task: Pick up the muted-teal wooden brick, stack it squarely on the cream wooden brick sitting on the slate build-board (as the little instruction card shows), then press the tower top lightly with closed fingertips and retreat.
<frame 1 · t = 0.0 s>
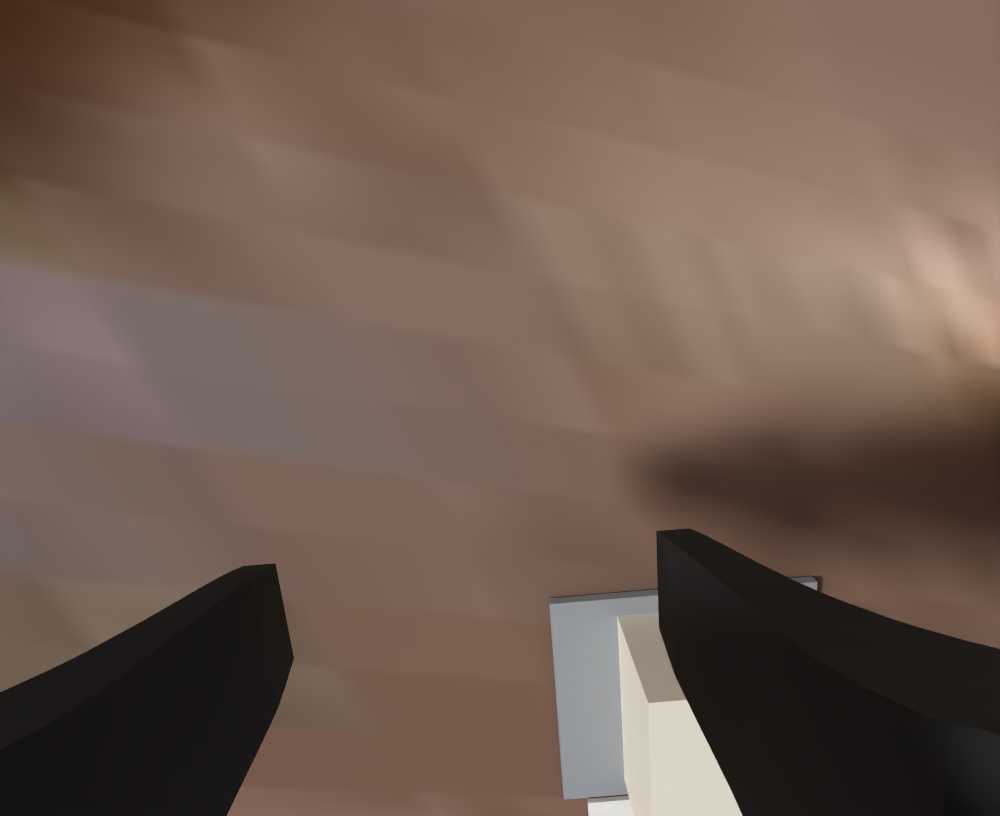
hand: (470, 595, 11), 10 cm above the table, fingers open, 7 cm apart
build board: (681, 688, 23), on the table
brick cream: (684, 695, 23), resting on build board
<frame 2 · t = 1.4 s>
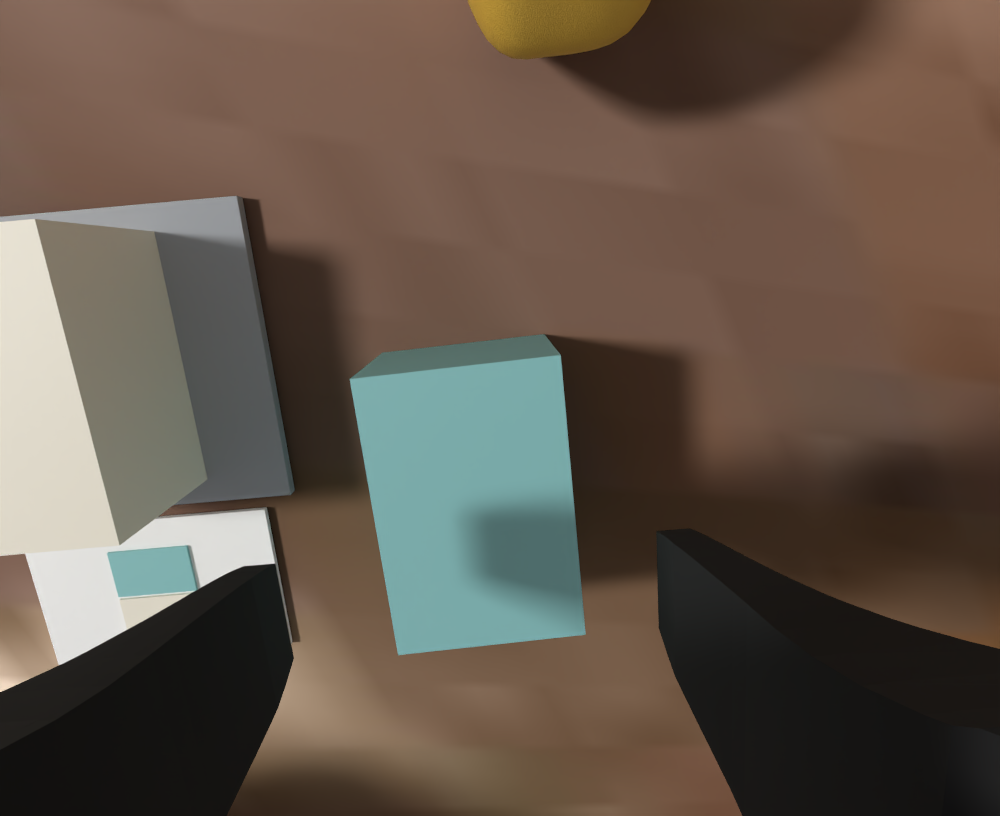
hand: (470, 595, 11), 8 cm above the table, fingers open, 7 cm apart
instruction card: (161, 586, 20), on the table
brick teal: (478, 457, 19), on the table
build board: (107, 366, 18), on the table
brick cream: (99, 368, 18), resting on build board
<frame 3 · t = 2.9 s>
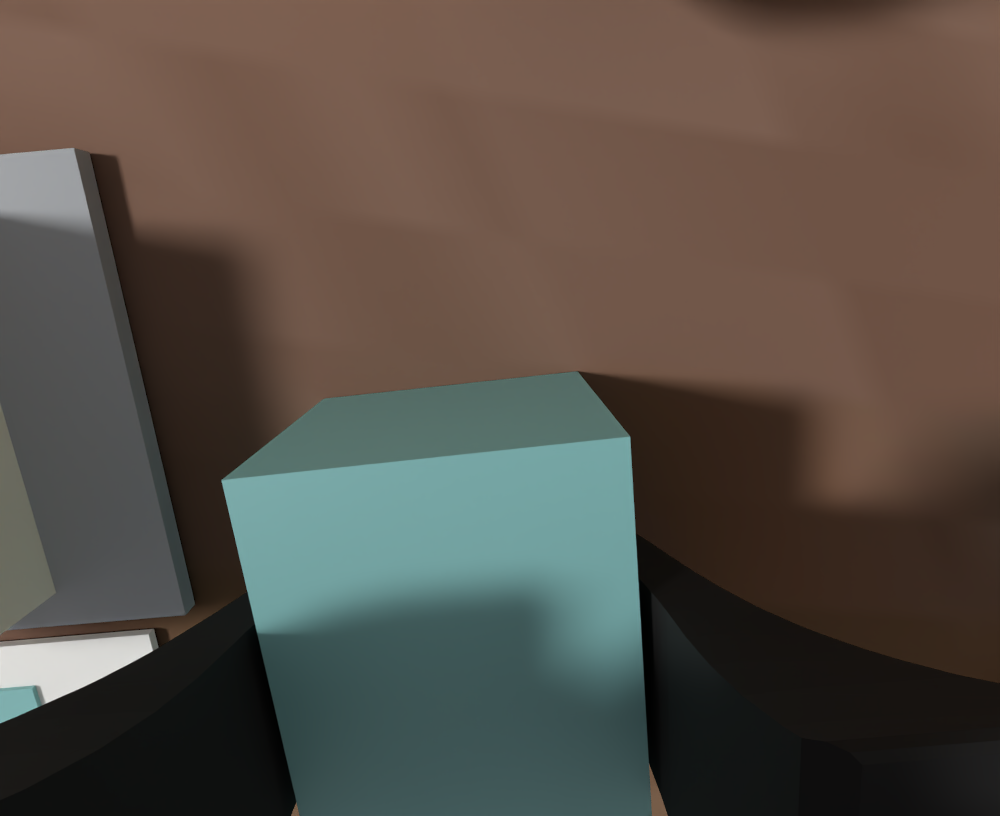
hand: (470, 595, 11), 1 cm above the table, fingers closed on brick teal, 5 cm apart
instruction card: (3, 740, 13), on the table
brick teal: (472, 558, 12), on the table, touching gripper
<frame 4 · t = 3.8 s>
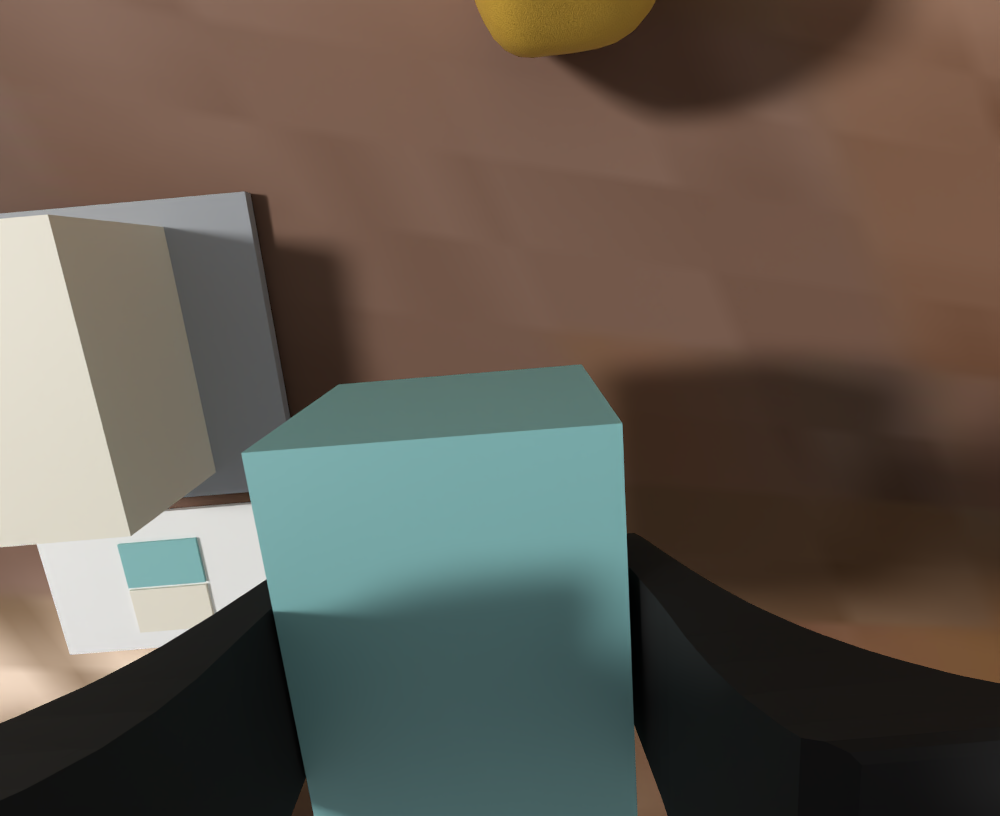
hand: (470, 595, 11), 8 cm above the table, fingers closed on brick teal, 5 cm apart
instruction card: (170, 577, 20), on the table
brick teal: (476, 542, 13), point 6 cm above the table, touching gripper
build board: (117, 360, 18), on the table
brick cream: (109, 362, 18), resting on build board
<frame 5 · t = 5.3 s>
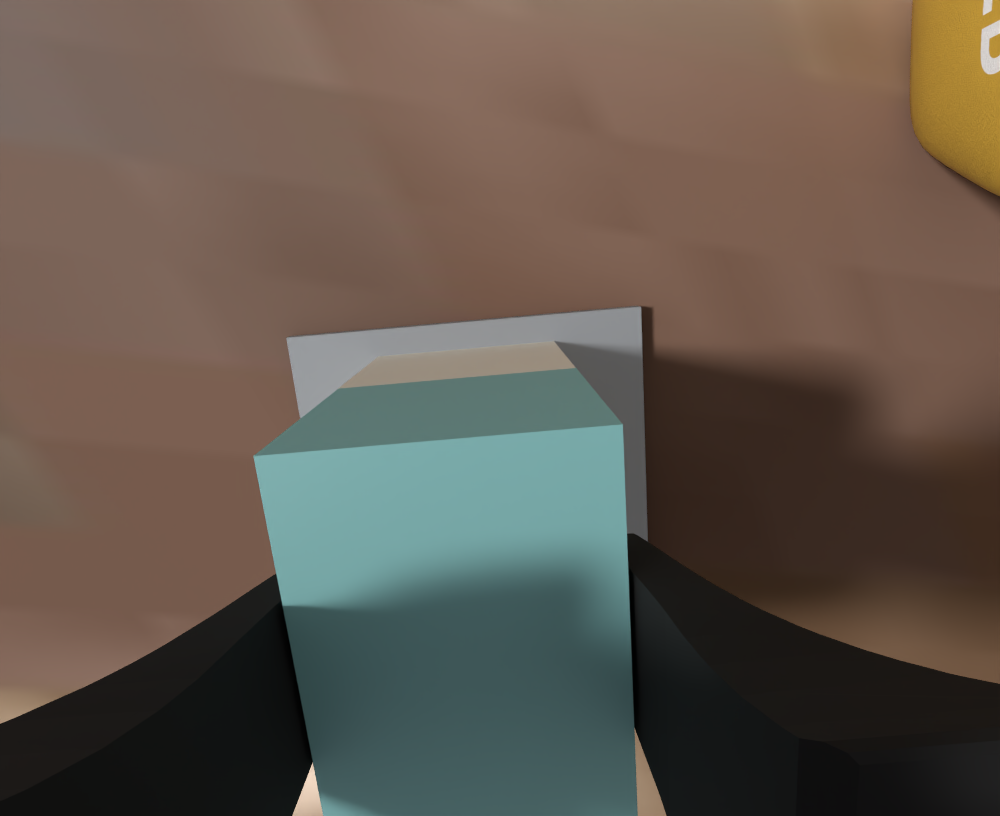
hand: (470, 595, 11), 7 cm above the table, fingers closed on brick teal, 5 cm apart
brick teal: (474, 542, 13), point 5 cm above the table, touching brick cream, gripper
build board: (478, 468, 18), on the table
brick cream: (478, 473, 18), resting on build board, touching brick teal
when the fingers open (7 cm above the table, at t = 6.2 s): brick teal stays where it is, resting on brick cream.
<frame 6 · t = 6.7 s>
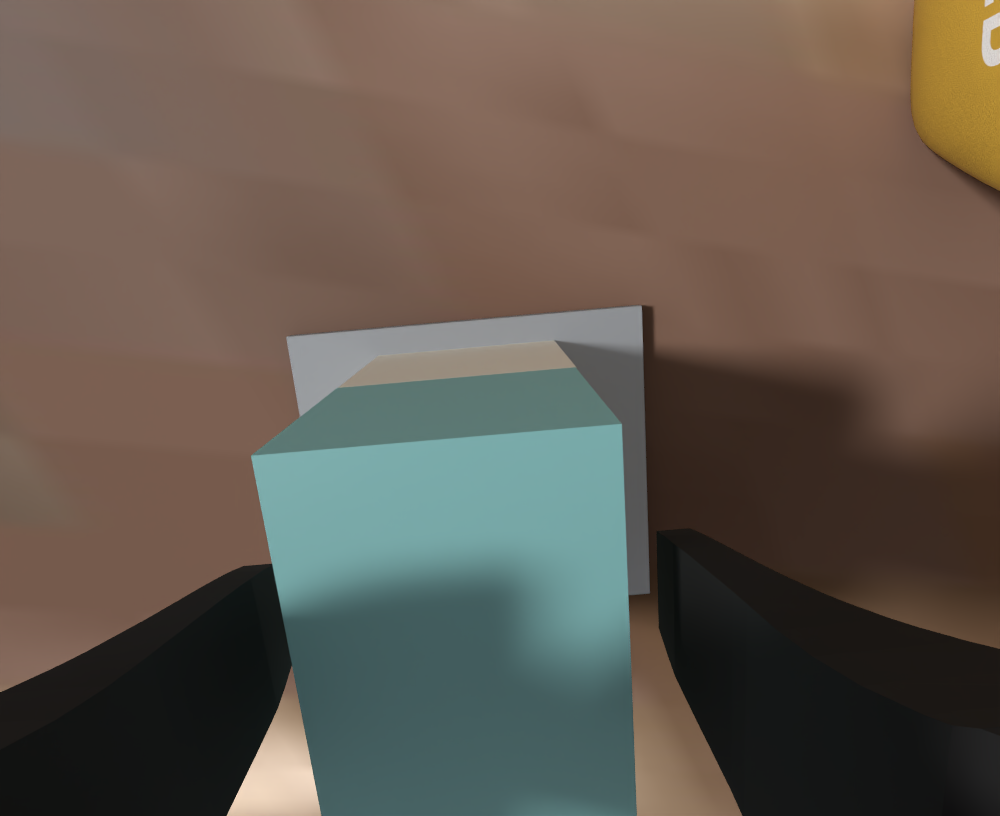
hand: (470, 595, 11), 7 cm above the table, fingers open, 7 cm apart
brick teal: (473, 541, 13), point 5 cm above the table, touching brick cream
build board: (479, 468, 18), on the table
brick cream: (478, 472, 18), resting on build board, touching brick teal
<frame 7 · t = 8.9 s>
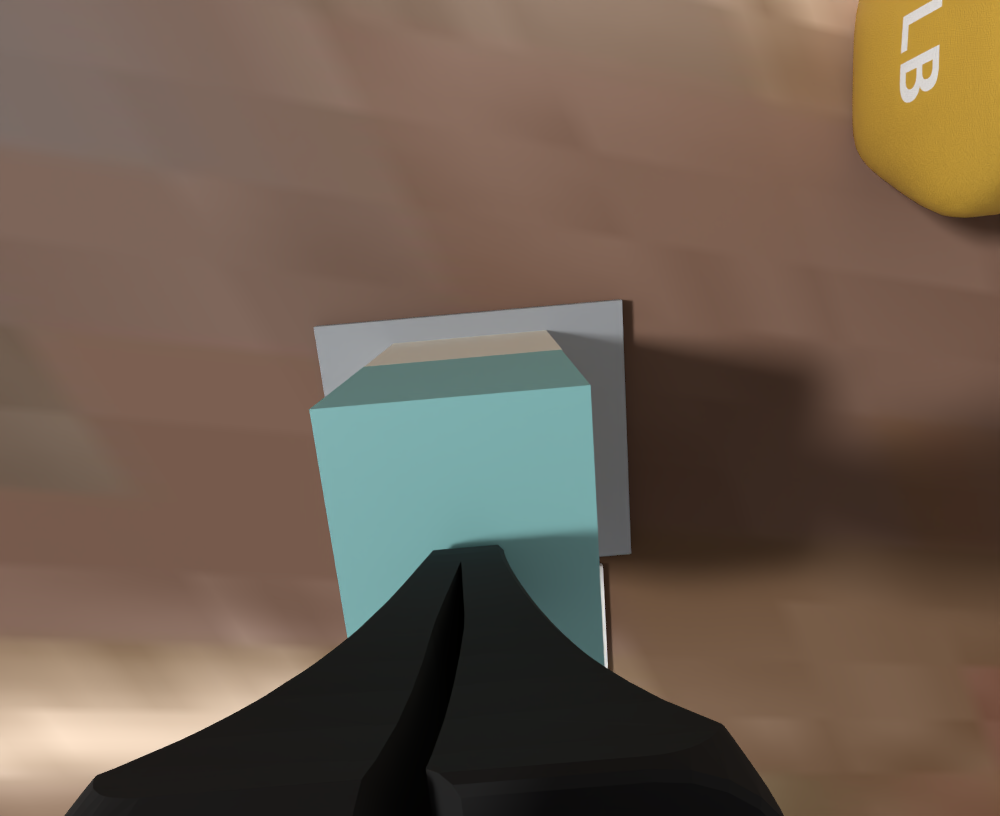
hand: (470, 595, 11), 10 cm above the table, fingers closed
instruction card: (499, 632, 22), on the table
brick teal: (476, 497, 16), point 5 cm above the table, touching brick cream
build board: (480, 442, 20), on the table
brick cream: (480, 446, 20), resting on build board, touching brick teal
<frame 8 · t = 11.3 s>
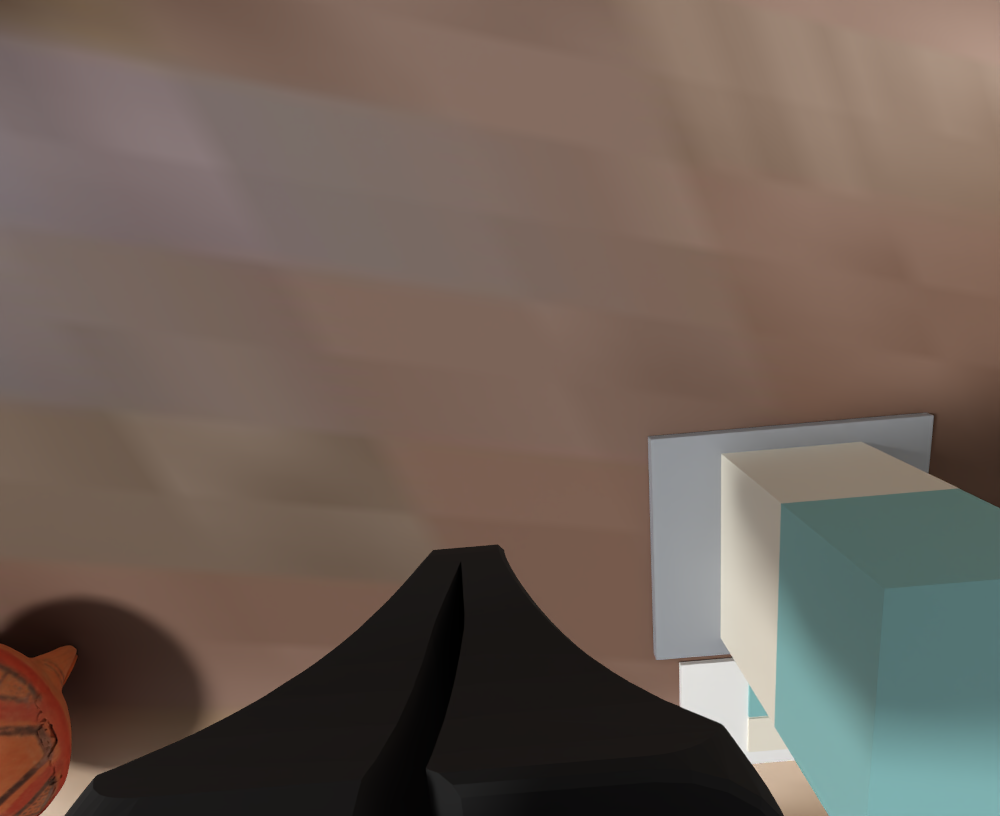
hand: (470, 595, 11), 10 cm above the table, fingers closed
instruction card: (777, 707, 24), on the table
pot: (26, 674, 23), on the table
brick teal: (861, 613, 17), point 5 cm above the table, touching brick cream
build board: (783, 538, 22), on the table
brick cream: (788, 543, 22), resting on build board, touching brick teal
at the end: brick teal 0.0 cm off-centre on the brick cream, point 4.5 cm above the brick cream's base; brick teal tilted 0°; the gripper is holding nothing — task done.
